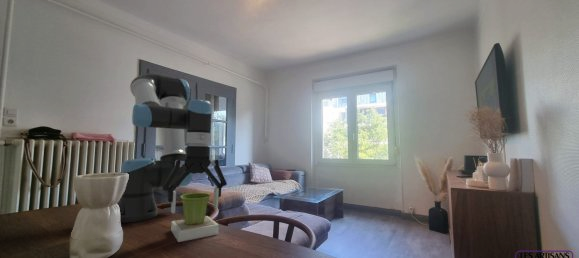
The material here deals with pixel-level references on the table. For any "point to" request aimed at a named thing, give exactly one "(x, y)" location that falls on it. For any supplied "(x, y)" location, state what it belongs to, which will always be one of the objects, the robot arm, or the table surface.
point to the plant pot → (194, 207)
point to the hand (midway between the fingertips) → (195, 209)
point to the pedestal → (194, 229)
